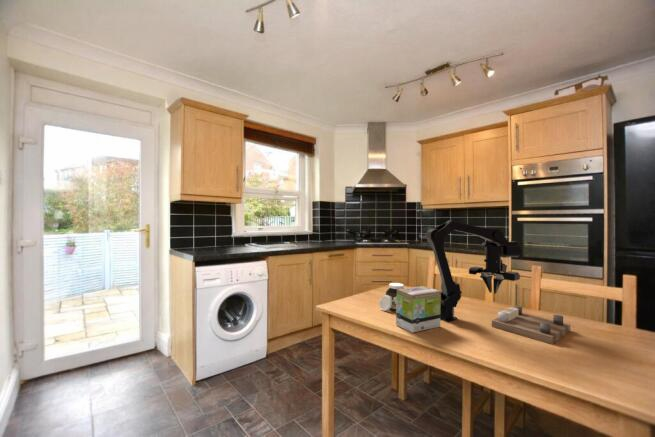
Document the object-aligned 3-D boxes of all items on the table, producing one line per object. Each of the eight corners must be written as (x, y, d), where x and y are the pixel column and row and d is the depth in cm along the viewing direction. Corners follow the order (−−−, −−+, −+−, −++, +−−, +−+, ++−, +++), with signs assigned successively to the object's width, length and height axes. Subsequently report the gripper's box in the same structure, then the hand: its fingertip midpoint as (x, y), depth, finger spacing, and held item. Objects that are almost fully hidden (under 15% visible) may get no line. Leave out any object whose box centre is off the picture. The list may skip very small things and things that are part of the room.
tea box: (413, 334, 109) (413, 294, 109) (395, 325, 118) (395, 289, 118) (441, 326, 116) (441, 290, 116) (422, 319, 125) (422, 284, 125)
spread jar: (409, 308, 140) (409, 284, 139) (401, 315, 130) (401, 289, 130) (385, 304, 146) (385, 281, 146) (376, 310, 136) (376, 285, 136)
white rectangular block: (506, 323, 113) (506, 315, 113) (496, 320, 116) (496, 312, 116) (519, 316, 120) (519, 309, 120) (509, 314, 123) (509, 307, 123)
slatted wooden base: (552, 344, 100) (552, 328, 100) (491, 326, 116) (491, 312, 116) (570, 330, 112) (570, 316, 112) (513, 316, 128) (513, 303, 128)
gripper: (525, 257, 122) (525, 294, 123) (480, 253, 137) (480, 286, 138) (514, 260, 116) (513, 299, 116) (468, 255, 131) (468, 289, 131)
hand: (493, 293), depth 125 cm, fingers closed
